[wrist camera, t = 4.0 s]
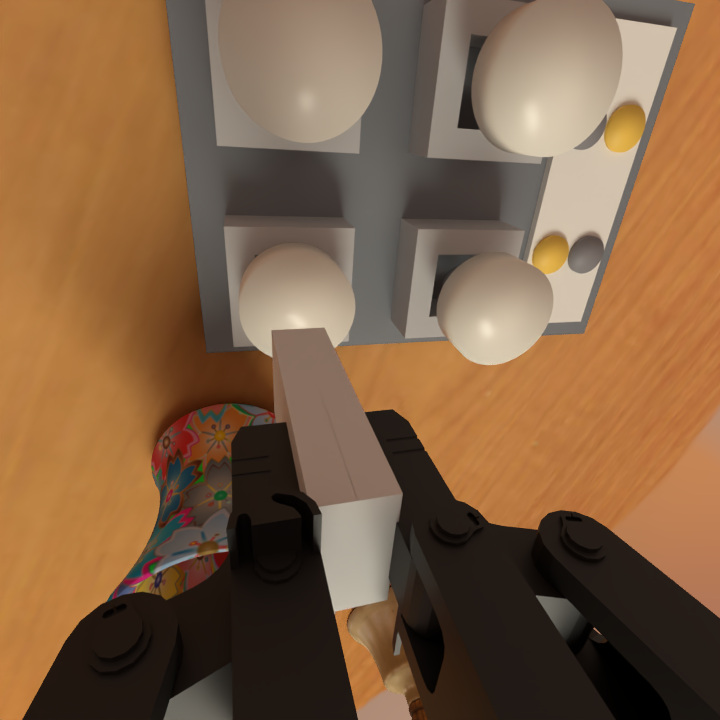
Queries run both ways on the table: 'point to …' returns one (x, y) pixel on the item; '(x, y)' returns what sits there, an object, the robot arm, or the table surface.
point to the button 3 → (494, 307)
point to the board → (411, 172)
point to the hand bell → (386, 649)
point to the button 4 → (547, 76)
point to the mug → (191, 500)
